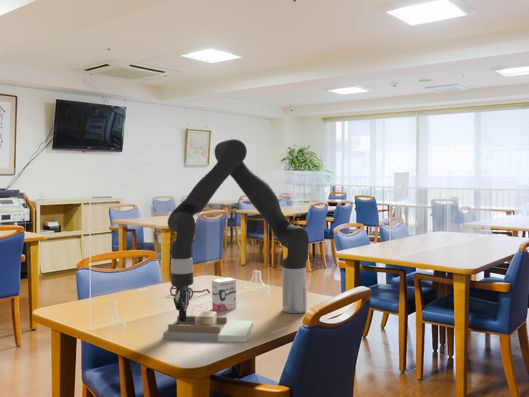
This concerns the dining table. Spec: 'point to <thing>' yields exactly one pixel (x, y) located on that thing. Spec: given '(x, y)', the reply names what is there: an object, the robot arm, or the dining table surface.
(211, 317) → the beech block
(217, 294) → the ink box
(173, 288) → the glasses
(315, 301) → the dining table surface
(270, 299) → the dining table surface
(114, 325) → the dining table surface
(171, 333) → the channel deck
